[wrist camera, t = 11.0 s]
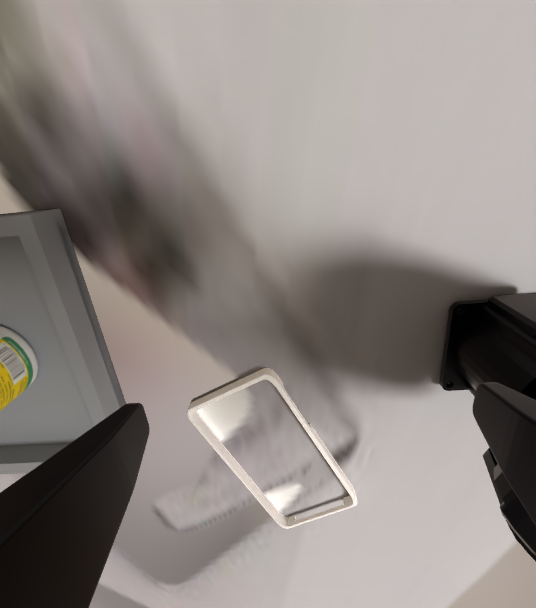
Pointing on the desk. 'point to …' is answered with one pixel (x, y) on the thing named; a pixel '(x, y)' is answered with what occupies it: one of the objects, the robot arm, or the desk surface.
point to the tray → (50, 342)
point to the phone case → (230, 414)
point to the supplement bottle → (15, 366)
